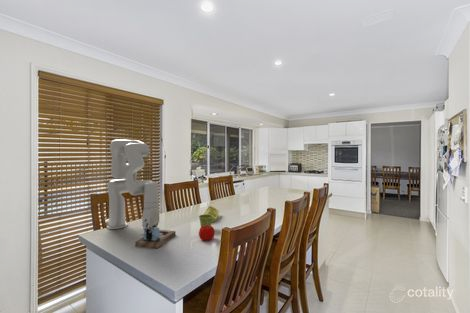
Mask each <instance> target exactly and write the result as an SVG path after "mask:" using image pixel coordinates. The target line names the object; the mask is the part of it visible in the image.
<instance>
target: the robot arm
mask: <svg viewBox="0 0 470 313" xmlns="http://www.w3.org/2000/svg"><path fill="white" fill-rule="evenodd" d="M109 151H110V154H111V164H110V165H111V166H110V167H111V169H110V176H111V177H112V178H115V179H111V180H110V181H109V182H108V183H107V192H108V202H109V203H108V204H109V205H108V206H109V208H108V209H109V210H108V211H109V212H108V213H109V214H108V216H109V217H108V219H106V220H105V221H104V222H105V224H107V225H106V229H109V230H118V229H119V230H120V229H122V228H125V227H128V224H129V223H128V222H126V198H125V197H124V196H123V195H122V194H125V193H129V195H131V196H139V195H143V211H142V219H141V221H142V222H141V225H142V226H141V227H142V231H144V230H145V232H146V239H147V240H152V232H151V229H152V227H153V228H154V227H156V228H158V225H159V223H160V209H159V203H160V201H159V200H160V199H159V193H160V191H159V189H160V187H159V186H160V185H159V183H158V182H156V181H153V180H138V181H137V176H138V171H141V170H142V169H143V168H144V167H145V161H144V158H143V157H148V156H149V155H150V148H149V146H148V144H147V143H146V142H143V141H141V140H136V139H121V138H120V139H113V140H112V141H111V142H110V146H109ZM148 228H150V229H148Z"/></svg>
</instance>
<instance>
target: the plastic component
mask: <svg viewBox="0 0 470 313" xmlns="http://www.w3.org/2000/svg"><path fill="white" fill-rule="evenodd" d="M204 214H209V215H213V218H212V222H211V223H216V221H217V220H218V216H219V210H218V209H217V208H215V207H213V206H211V205H209V206H208V207H207V209H206V210H205V211H204ZM204 214H203V215H204Z"/></svg>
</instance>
